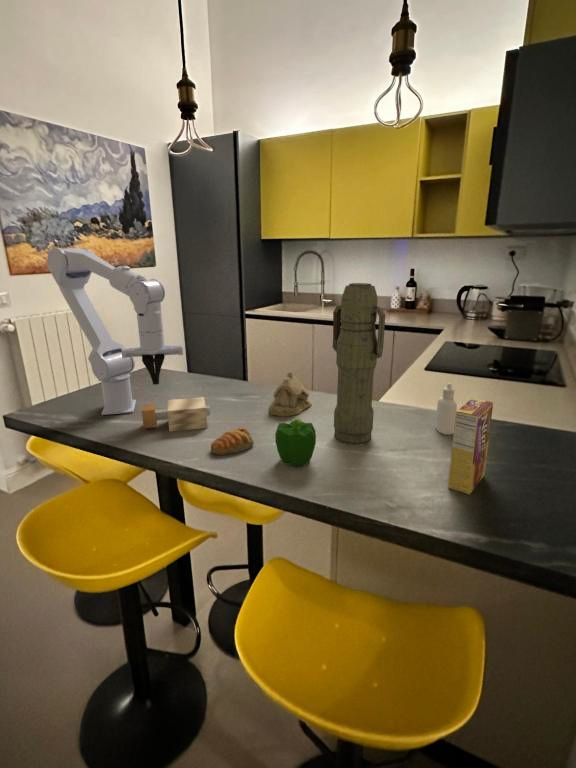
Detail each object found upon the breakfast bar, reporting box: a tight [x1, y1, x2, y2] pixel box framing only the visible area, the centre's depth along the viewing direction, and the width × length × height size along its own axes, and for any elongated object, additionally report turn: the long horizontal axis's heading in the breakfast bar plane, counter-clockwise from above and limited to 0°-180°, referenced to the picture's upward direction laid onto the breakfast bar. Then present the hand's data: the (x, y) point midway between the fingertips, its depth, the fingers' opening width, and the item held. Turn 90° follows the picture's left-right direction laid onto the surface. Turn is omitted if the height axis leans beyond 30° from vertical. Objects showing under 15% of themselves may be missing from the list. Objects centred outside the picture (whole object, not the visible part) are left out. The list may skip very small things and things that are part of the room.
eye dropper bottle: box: [434, 382, 458, 436], centre depth 101 cm, size 4×6×12 cm
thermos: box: [332, 282, 386, 446], centre depth 94 cm, size 9×12×35 cm
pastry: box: [210, 427, 255, 456], centre depth 94 cm, size 9×7×4 cm
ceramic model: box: [268, 372, 313, 417], centre depth 117 cm, size 14×11×10 cm
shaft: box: [141, 403, 211, 429], centre depth 106 cm, size 16×4×4 cm, turn 104°
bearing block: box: [167, 396, 208, 432], centre depth 107 cm, size 9×8×5 cm
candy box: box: [447, 398, 494, 495], centre depth 78 cm, size 9×4×15 cm, turn 140°
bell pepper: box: [275, 417, 317, 467], centre depth 87 cm, size 8×8×10 cm
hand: (156, 383), depth 109 cm, fingers closed
